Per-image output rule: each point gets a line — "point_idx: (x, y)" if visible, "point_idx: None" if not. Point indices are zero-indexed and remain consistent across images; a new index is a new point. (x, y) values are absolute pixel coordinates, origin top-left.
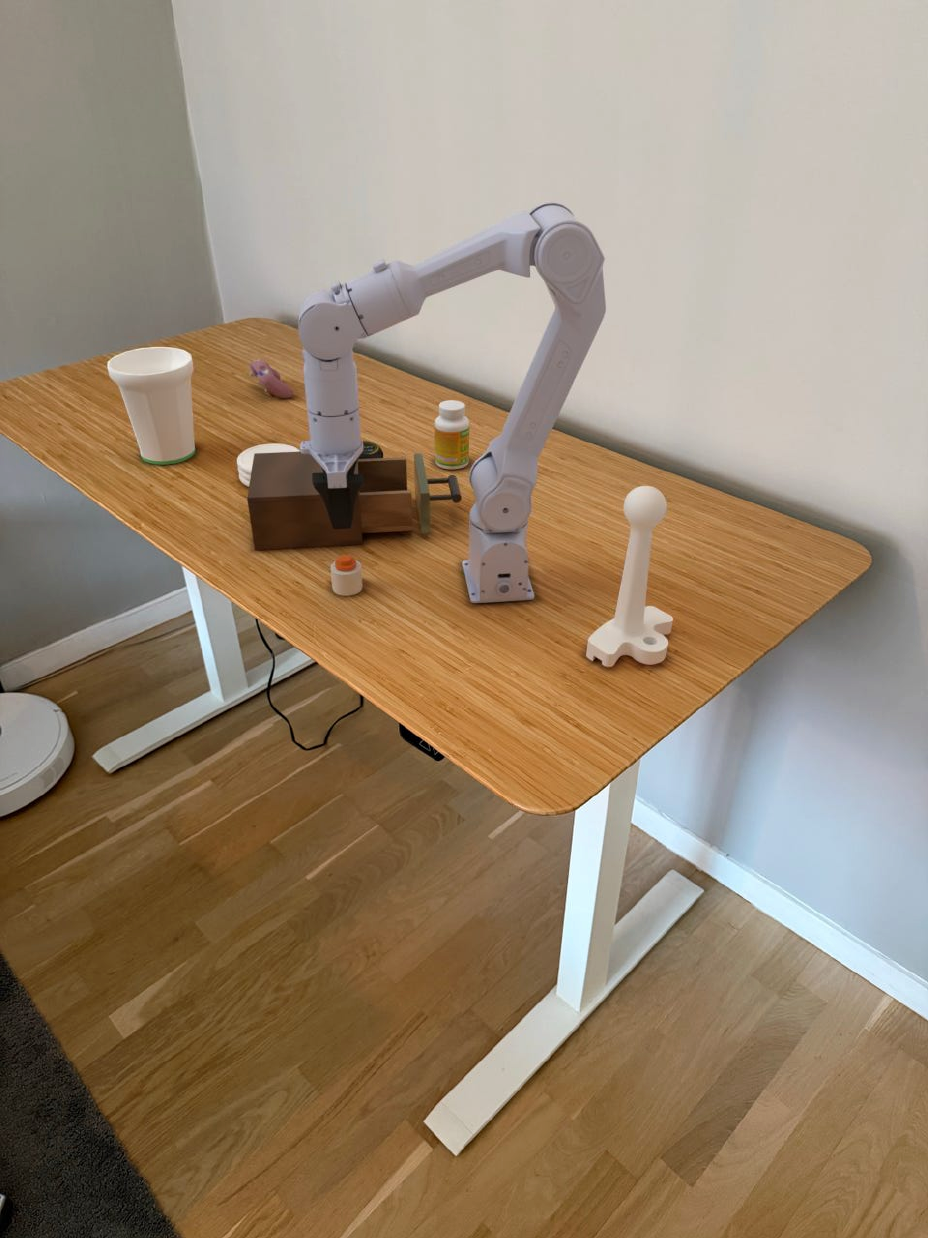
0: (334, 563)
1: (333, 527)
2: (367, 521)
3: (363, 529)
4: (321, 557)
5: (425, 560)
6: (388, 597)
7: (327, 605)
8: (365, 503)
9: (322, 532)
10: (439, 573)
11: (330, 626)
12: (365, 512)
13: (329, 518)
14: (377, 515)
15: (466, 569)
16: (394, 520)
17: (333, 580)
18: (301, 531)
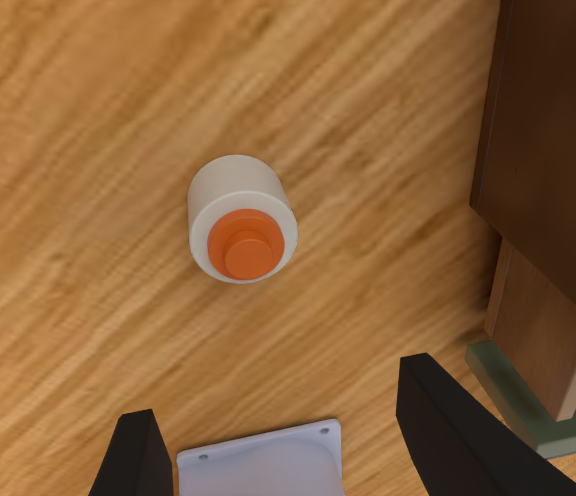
0: (261, 202)
1: (117, 426)
2: None
3: None
4: (422, 89)
5: (362, 352)
6: (191, 304)
7: (126, 152)
8: None
9: (520, 106)
10: (303, 383)
11: (3, 180)
12: None
13: (96, 478)
14: (532, 289)
15: (301, 434)
16: (509, 316)
17: (206, 186)
18: (542, 23)
